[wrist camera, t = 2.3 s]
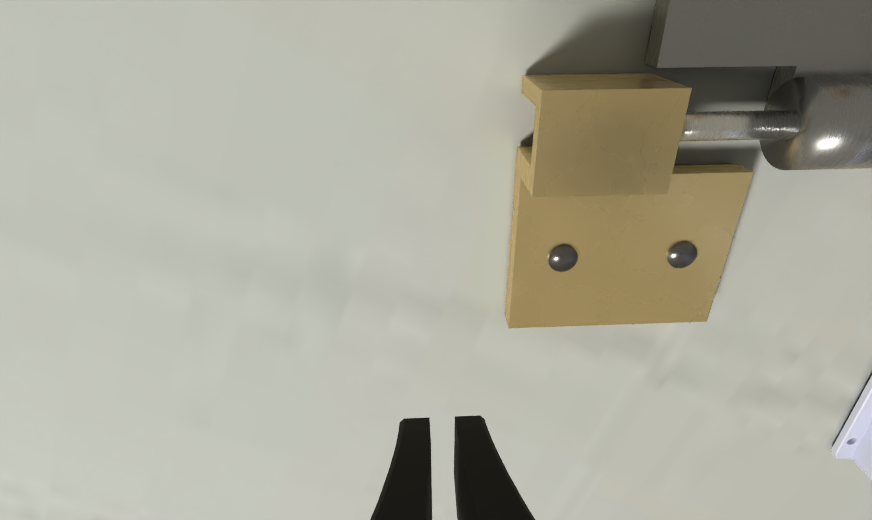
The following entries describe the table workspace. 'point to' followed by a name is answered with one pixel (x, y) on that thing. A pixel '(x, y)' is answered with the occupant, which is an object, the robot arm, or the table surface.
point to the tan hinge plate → (615, 207)
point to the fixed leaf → (780, 74)
